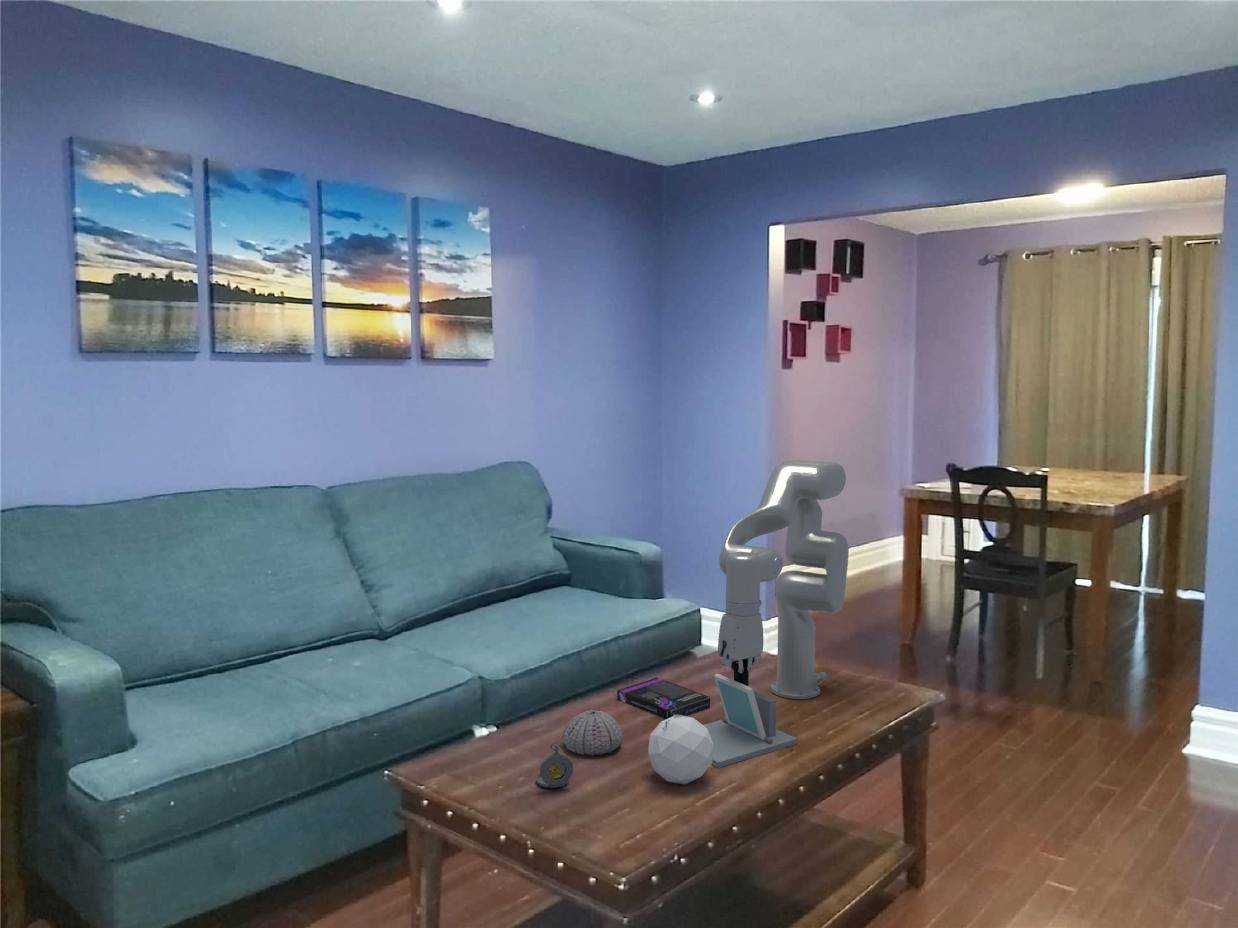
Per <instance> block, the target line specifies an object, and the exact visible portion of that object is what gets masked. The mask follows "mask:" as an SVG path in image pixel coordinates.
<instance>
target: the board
mask: <svg viewBox="0 0 1238 928" xmlns="http://www.w3.org/2000/svg"><path fill="white" fill-rule="evenodd" d="M753 692H754V695H755V699H756V702H757V706H758V709H759V713H760V717H761V720H762V724H763V727H764V731H765V734H766V738H765V739H764V740H762V739H760V738H758V737H756V736H754V735H752V734H749V733H747V732H745V731H743V730H741V729H739V728H737V727H735V726H733V725H731V724H729V723H728V722H727V719H726V716H724V717H722V719H719V720H717V721H715V720H714V721H713V722H712V721H711V722H709V723H705V724H702V725H703V726H705V727H706V728H707V729H708V731H709V734H710V737H711V739H712V742H713V745H714V750H713V759H712V764H711V765H712V766H714V767H716V768H718V769H719V768H722V767H723V768H724V767H726V766H729V765H732V764H735V763H739V762H741V761H746V760H748V759H752V758H754V757H758V756H761V755H765V754H769V753H772V752H775V751H778V750H781V749H784V748H785V749H786V748H788V747H791V746H794V745H797V744H798V738H797V737H794V736H793V735H791V734H787V733H786V732H784V731H781V730H779V729H777V700H776V699H775V698H771V697H769V696H767V695H765V694H762V693H760V692H758V691H755V690H753Z"/></svg>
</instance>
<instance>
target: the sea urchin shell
mask: <svg viewBox="0 0 1238 928" xmlns="http://www.w3.org/2000/svg"><path fill="white" fill-rule="evenodd" d="M562 739H563V742H564V743H563V745H565V746H566V749H568V751H571V752H573V753H575V754H576V753H577V754H579V755H587V756H588V755H589V756H595V755H599V756H601V755H604V754H611V753H612V752H613V751H615V750H617V748H619V746H620V745H621V744H622V741H623V732H622V727H621V726H620V724H619V723H618V721H617V720H616V719H615V717H613V716H612V715H610V714H609V713H608V712H605V711H603V710H596V709H595V710H593V709H592V710H591V709H590V710H589V709H588V710H586V711H584V712H581V713H578V714H577V715H576V716H574V717H573V718H572V719H570V720H569V721H568V722H567V724H566V725H565V727H564V729H563V732H562Z"/></svg>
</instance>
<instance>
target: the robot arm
mask: <svg viewBox="0 0 1238 928" xmlns="http://www.w3.org/2000/svg"><path fill="white" fill-rule="evenodd" d="M846 481H847V477H846V471H845V469H844V467H843V465H841V463H838V462H832V461H815V460H814V461H813V460H803V459H802V460H801V459H800V460H799V459H798V460H797V459H793V460H792V459H791V460H785V461H783V462H780V464H778V465H777V466H775V467H774V468H773V470H772V472H771V474H770V477H769V478H768V482H767V483H766V487H765V489H764V491H763V494H762V496H761V499H760V501H759V504H758V506H757V507H756V509H754V510H752V511H751V512H749V513H747V514H746V515H745V516H743V517H742V518H741V519H739V520H738V521H736V522H735V524H733V526H732V527H731V528H730V529H729V530H728V533H727V535H726V537H725V539H724V542H723V544H722V547H721V551H720V554H719V560H718V562H719V565H718V566H719V569H720V571H721V572H722V573H723V574H724V575H725V613H723V614H722V616H721V620H720V625H719V630H718V631H719V632H718V642H717V654H718V656H719V657H721V665H722V666H724V667H730V669H731V671H733V680H734V681H737V682H739V683H741V684H744V685H746V686H749V680H750V679H749V677H750V673H749V672H751V671H752V668H753V664H755V662H756V661H758V660H760V659H761V657H762V654H763V653H764V652H763V651H764V627H763V625H764V624H763V619H762V614H761V612H760V606H762V605H763V602H762V600H760V599H761V598H760V597H761V583H763V582H771V581H774V580H775V579H776V580H775V582H774V583H775V585H774V593H775V598H776V599H775V600H776V605H777V607H776V608H777V657H776V659H777V661H776V680H775V681H773V682H772V683H771V684H770V691H771V693H773V694H774V695H776V696H779V697H780V698H781V697H782V698H786V699H791V700H793V699H794V700H806V699H807V700H808V699H809V700H810V699H813V698H815V697H818V696H819V695H820V694H821V688H820V686H819V685H818V684H817V683H818V682H819V681H824V680H827V676H828V675H827V673H826V672H825V671H821V672H815V661H816V660H815V657H816V656H815V655H816V629H817V628H816V624H815V620H814V619H813V617H812V614H811V613H810V611H812V612H819V613H827V614H836V613H838V612H840V610H841V609H842V608H843V605H844V601H845V596H846V586H847V585H846V584H847V576H848V565H849V551H850V548H849V543H848V540H847V537H846V536H845V535H844V534H842V533H840V532H836V531H827V530H826V531H825V530H822V521H823V509H822V507H821V505H820V503H819V501H821V500H822V501H825V500H829V499H833V498H835V497H838V496H839V495H840V494H841V493H842V492H843V491H844V489H845V486H846ZM785 528H787V530H786V537H785V538H786V539H785V559H786V560H787V562H788V563H790V564H792V565H795V566H799V567H808V568H816V569H824V570H825V573H826V574H825V573H815V572H809V571H801V570H787V571H784V572H782V570H783V563H784V562H783V558H782V555H781V554H780V552H778V551H777V550H776V549H774V548H769V547H764V546H763V547H762V546H754V545H746V544H747V543H748V542H750V541H751V540H753V539H755V538H758V537H760V536H764V535H767V534H770V533H774V532H777V531H781V530H782V529H785ZM781 572H782V573H781Z"/></svg>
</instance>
